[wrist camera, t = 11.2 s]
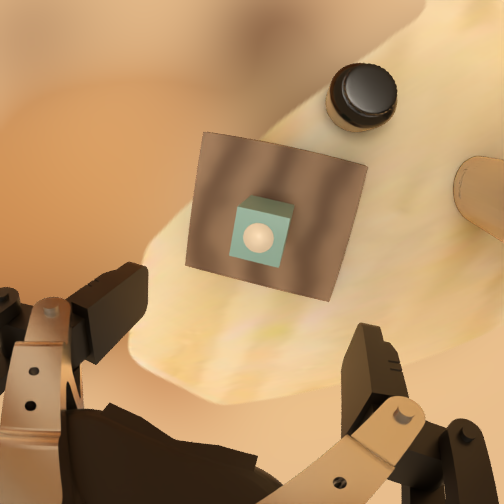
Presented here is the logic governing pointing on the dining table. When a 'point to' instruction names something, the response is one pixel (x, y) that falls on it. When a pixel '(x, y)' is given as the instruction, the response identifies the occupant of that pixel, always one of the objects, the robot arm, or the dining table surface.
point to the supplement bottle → (361, 97)
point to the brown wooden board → (279, 189)
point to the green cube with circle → (261, 230)
